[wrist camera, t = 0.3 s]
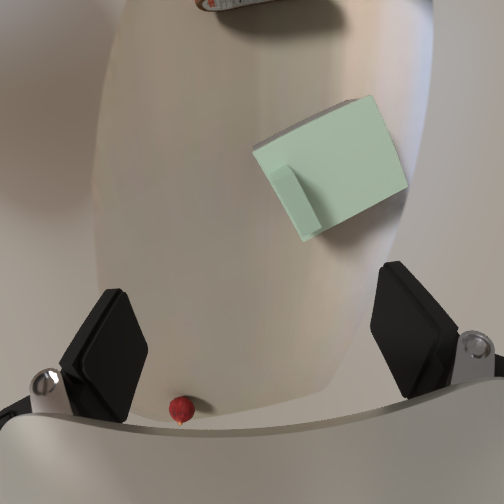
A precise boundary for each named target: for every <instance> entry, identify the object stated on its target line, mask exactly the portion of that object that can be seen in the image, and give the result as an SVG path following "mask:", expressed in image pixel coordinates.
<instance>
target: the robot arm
mask: <svg viewBox="0 0 504 504" xmlns="http://www.w3.org/2000/svg"><path fill="white" fill-rule="evenodd" d="M370 329H371V333H372V335H373V337H374V339H375V341H376V342H377V344H378V346H379V348H380V350H381V352H382V354H383V356H384V358H385V360H386V362H387V364H388V366H389V369H390V371H391V373H392V375H393V377H394V379H395V381H396V383H397V385H398V388H399V390H400V392H401V394H402V396H403V397H404V398H407V399H408V400H406V401H402V402H399V403H395V404H392V405H388V406H384V407H381V408H377V409H374V410H370V411H365V412H361V413H357V414H352V415H348V416H344V417H338V418H333V419H327V420H321V421H315V422H309V423H302V424H294V425H286V426H277V427H267V428H253V429H231V430H193V429H191V430H190V429H169V428H157V427H156V428H155V427H146V426H136V425H128V424H122V423H123V422H124V421H126V419H127V417H128V413H129V410H130V407H131V403H132V400H133V397H134V394H135V390H136V387H137V384H138V381H139V378H140V375H141V372H142V369H143V366H144V363H145V360H146V357H147V354H148V346H147V343H146V341H145V338H144V336H143V334H142V331H141V329H140V326H139V324H138V321H137V319H136V316H135V314H134V311H133V309H132V306H131V304H130V301H129V298H128V296H127V294H126V292H123V291H122V290H121V289H120V288H119V289H106V290H105V292H104V293H103V294H102V296H101V297H100V299H99V300H98V302H97V303H96V305H95V306H94V308H93V309H92V311H91V312H90V314H89V315H88V317H87V318H86V320H85V321H84V323H83V324H82V326H81V327H80V329H79V331H78V332H77V334H76V335H75V337H74V339H73V340H72V342H71V343H70V345H69V347H68V348H67V350H66V352H65V353H64V355H63V357H62V359H61V360H60V362H59V364H60V366H61V367H62V369H61V371H58V370H57V369H54V368H47V369H44V370H42V371H40V372H38V373H37V374H36V375H35V376H34V378H33V379H32V380H31V383H30V386H29V392H30V395H29V396H27V397H25V398H23V399H22V400H19V401H18V402H16V403H14V404H12V405H10V406H9V407H6V408H4V409H3V410H2V411H0V504H504V357H503V356H499V355H497V354H495V349H494V345H493V343H492V341H491V340H490V339H489V338H488V336H486V335H485V334H483V333H481V332H478V331H466V332H464V333H462V334H461V335H459V334H458V332H457V330H458V326H457V325H456V324H455V323H454V322H453V320H452V319H451V318H450V317H449V315H448V314H447V313H446V312H445V311H444V310H443V308H442V307H441V306H440V305H439V303H438V302H437V301H436V300H435V299H434V298H433V297H432V295H431V294H430V293H429V292H428V291H427V290H426V289H425V288H424V287H423V285H422V284H421V283H420V282H419V281H418V280H417V279H416V278H415V277H414V275H412V273H410V271H409V270H408V269H407V268H406V267H405V266H404V265H403V264H402V263H401V262H400V261H394V262H386V263H385V264H384V265H383V267H381V268H380V270H379V276H378V283H377V289H376V295H375V301H374V308H373V313H372V318H371V323H370Z"/></svg>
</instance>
